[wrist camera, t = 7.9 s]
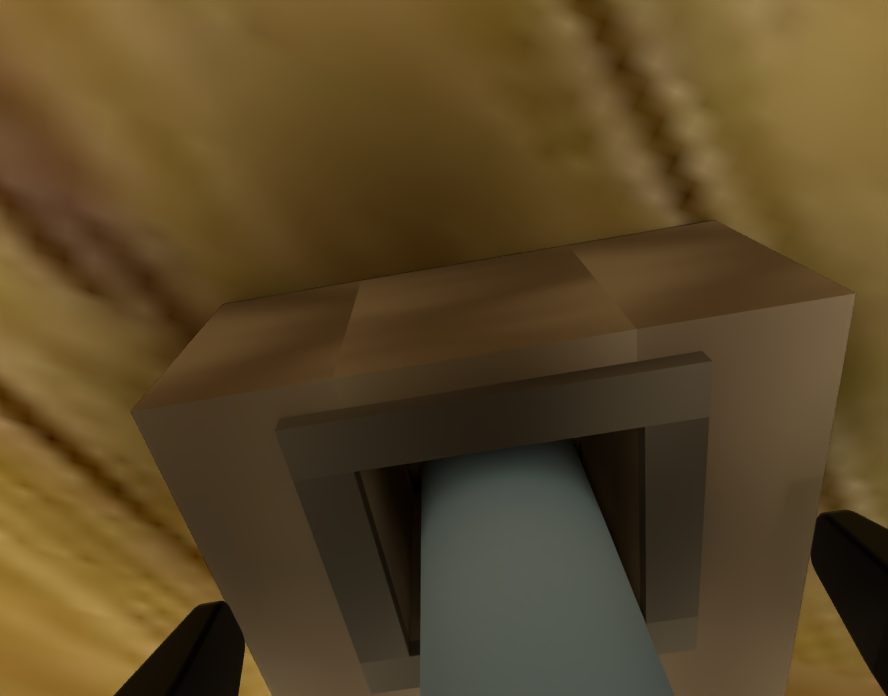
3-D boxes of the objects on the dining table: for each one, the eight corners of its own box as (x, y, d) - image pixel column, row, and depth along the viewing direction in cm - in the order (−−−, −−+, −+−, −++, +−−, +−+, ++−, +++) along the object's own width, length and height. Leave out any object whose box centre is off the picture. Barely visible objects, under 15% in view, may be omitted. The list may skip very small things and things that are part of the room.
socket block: (715, 220, 11) (871, 301, 7) (691, 666, 17) (769, 838, 13) (222, 304, 11) (120, 423, 8) (373, 710, 18) (359, 888, 14)
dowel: (557, 449, 13) (711, 887, 6) (434, 468, 14) (445, 917, 6) (547, 337, 12) (728, 732, 5) (410, 360, 12) (391, 775, 5)
